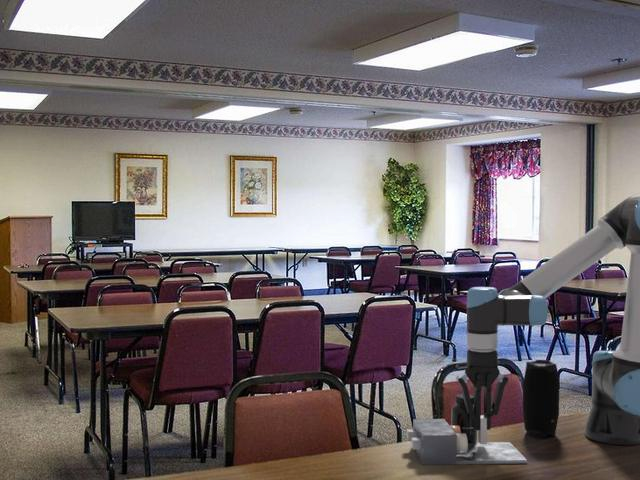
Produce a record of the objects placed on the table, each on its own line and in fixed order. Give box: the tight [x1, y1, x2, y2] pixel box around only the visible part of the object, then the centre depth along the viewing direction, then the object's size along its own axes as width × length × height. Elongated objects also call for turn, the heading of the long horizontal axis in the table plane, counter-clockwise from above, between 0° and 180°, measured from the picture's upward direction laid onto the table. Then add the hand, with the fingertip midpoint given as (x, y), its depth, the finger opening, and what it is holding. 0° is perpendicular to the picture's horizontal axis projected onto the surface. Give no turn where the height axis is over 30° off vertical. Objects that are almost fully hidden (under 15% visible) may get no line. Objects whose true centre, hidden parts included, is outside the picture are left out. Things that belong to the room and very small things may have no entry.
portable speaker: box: [522, 359, 560, 439], centre depth 205 cm, size 9×9×20 cm
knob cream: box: [410, 434, 468, 452], centre depth 184 cm, size 13×4×4 cm, turn 93°
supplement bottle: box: [450, 393, 478, 443], centre depth 198 cm, size 7×7×12 cm
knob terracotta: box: [406, 424, 461, 442], centre depth 191 cm, size 13×4×4 cm, turn 93°
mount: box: [412, 418, 528, 466], centre depth 188 cm, size 25×14×7 cm, turn 93°
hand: (482, 442), depth 192 cm, fingers closed
